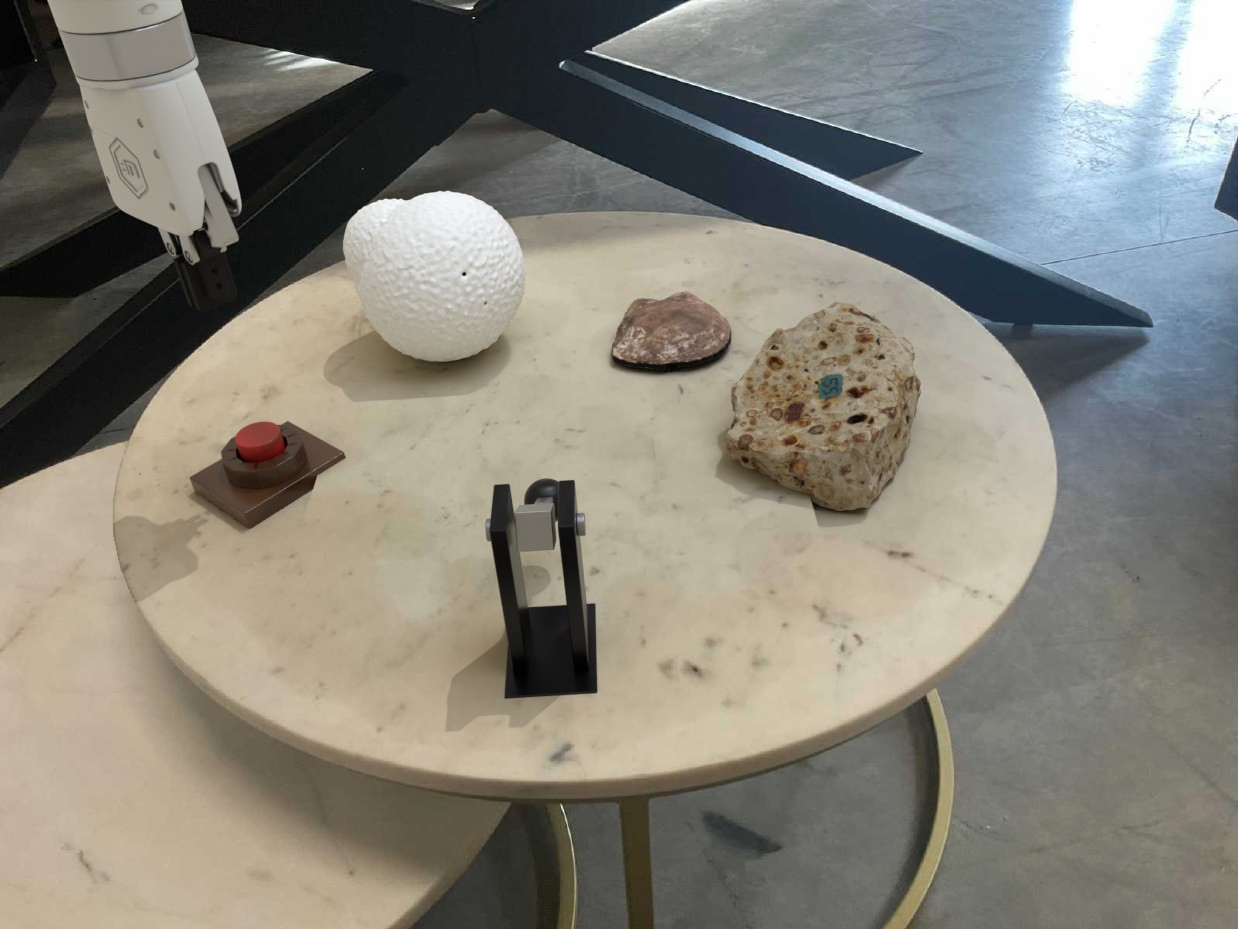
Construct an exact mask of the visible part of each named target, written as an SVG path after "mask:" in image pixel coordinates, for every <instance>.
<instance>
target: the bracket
mask: <svg viewBox="0 0 1238 929" xmlns="http://www.w3.org/2000/svg"><path fill="white" fill-rule="evenodd" d="M558 482H559V488H558V521H557V533H558V534H557V535H558V542H559V550H560V559H561V560H560V561H561V568H562V569H561V570H562V577H563V578H562V579H563V586H564V594H565V602H566V604H558V605H542V606H528V599H527V591H526V586H525V584H526V583H525V578H524V572H523V565H522V559H521V552H517V541H516V527H515V514H514V513H515V511H514V504H513V496H512V489H511V485H510V483H500V484H499V483H497V484H493V490H492V499H491V510H490V518H485V524H484V526H485V527H484V528H485V530H484V532H485V538H486V541H487V542H490V544H491V550H492V556H493V562H494V568H495V574H496V580H497V585H498V592H499V597H500V598H499V599H500V603H501V610H502V615H503V622H504V627H505V633H506V639H507V653H506V668H505V683H504V699H507V700H508V699H522V698H523V699H524V698H525V699H526V698H539V697H541V698H542V697H555V696H556V697H557V696H558V697H559V696H575V695H590V694H591V695H592V694H597V693H598V658H597V655H598V654H597V613H596V612H597V609H596V607H597V606H596V603H595V602H593V603H592V602H590V603H587V593H586V581H585V573H584V572H585V571H584V561H583V551H582V542H581V541H582V540H581V537H586V535H587V527H586V526H587V525H586V514H585V512H579V510H578V500H577V489H576V480H574V479H565V480H563V479H562V480H559V481H558Z"/></svg>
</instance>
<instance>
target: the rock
mask: <svg viewBox="0 0 1238 929" xmlns="http://www.w3.org/2000/svg"><path fill="white" fill-rule="evenodd" d="M915 354H916V353H915V351H914V346H913V344H912V342H910V341H909V340H908V339H907V338H906V337H904V336H901V335H899V333H898V332H897V331H896V330H894V329H892V328H891V327H890V326H889V325H888V324H887V323H885V322H884V321H881V320H880V319H878V318H874V317H872V316H871V315H869V314H868V313H866V312H863V311H861V310H860V309H859V308H857V307H856V306H855V305H854V304H853V303H852V302H845V301H839V300H836V301H835V302H833V303H831V304H830V305H828V306H826V308H822V309H821V310H819V311H817V312H816V311H815V312H813V313H809V314H808V315H806V316H804V318H801V320H800V321H799V322H798V324H797V325H796V326H794V327H790V328H788V329H783V328H779V327H777V328H776V329H775V330H774V331H773V333H771V335H770V336H769V337H768V338H767V339H766V340H765V341H764V342H763V344H762V346H761V350H760V352H759V353H757V355H756V356H755V358H754V359H753V361H752V363H751V365H750V366H749V368H748V369H747V370H746V371H745V372H744V373H743V374H742V376H741V377H740V379H739V380H738V381H736V382H735V383H734V384H733V385H732V386H731V388H730V389H731V390H730V392H731V394H730V395H731V396H730V402H731V405H732V412H734V416H733V419H732V422H731V424H730V426H729V429H728V430H727V432H726V434H725V436H724V438H723V439H724V442H725V448H726V450H727V452H728V455H729V457H730V459H731V460H733V461H735V463H738V464H739V465H740V466H742V467H743V468H745V469H748V470H755V471H758V472H759V473H760V474H763V475H766V476H768V477H770V479H771V480H775V481H777V482H778V484H779V485H780V486H782V487H784V488H787V489H789V490H793V491H796V492H801V493H803V494H807V495H808V496H809V498H810V502H813V503H814V504H816V505H817V506H819V507H822V508H827V509H831V510H834V511H838V512H842V511H846V510H847V511H853V510H859V509H870V508H871V507H872V502H874V500H875V499H876V498H877V497H878V496H880V495H881V493H882V492H883V489H884V488H885V485H886V484H887V483H888V482H889V480H891V479H892V478H894V477H895V476H896V474H897V470H898V465H899V462H900V461H901V460H902V458H903V457H904V456H905V455H906V454H907V452H908V450H909V447H910V445H911V434H912V433H911V430H912V425H913V422H914V420H915V418H916V417H917V416H916V415H917V412H918V408H917V405H918V402H919V399H920V397H921V395H922V389H921V386H922V382H921V380H920V378H919V377H918V375H917V374H916V371H915V369H914V362H915V357H916V356H915Z"/></svg>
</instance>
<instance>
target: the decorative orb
mask: <svg viewBox="0 0 1238 929" xmlns="http://www.w3.org/2000/svg"><path fill="white" fill-rule="evenodd" d="M362 170H364V168H362ZM355 182H356V181H355ZM344 230H345V231H344V235H343V240H342V245H343V246H342V251H343V256H344V258H345V260H344V263H345V265H346V268H347V270H348V272H349V273H350V275H351V278H352V279H353V281H354V283H353V287H354V289H355V292H356V294H357V296H358V298H359V301H360V304H361V307H362V309H363V312H364V314H365V315H366V317H367V320H368V322H370V324H371V325H372V327H373V328H374V330H375V331H376V332H377V334H378V335H380V336H381V338H382V340H383V341H385V342H387V344H388V345H389V346H390V347H391V348H393V349H395V350H396V351H398V352H400V353H401V354H402V355H407V356H409V357H412V358H414V359H416V360H419V359H420V360H423V361H425V362H438V363H442V362H453V361H458V360H461V359H466V358H470V357H471V356H476V355H477V354H479V353H480V352H481V351H482V350H487V349H489V347H491V346H492V344H494V343H496V342H497V341H498V339H499V337H500V336H501V335H502V334H503V333H504V332H505V331H506V330H507V328H508V327H509V325H510V324H511V323H512V321H513V320H514V319H515V316H516V314H517V312H518V310H519V307H521V303H522V300H523V297H524V294H525V288H526V274H527V271H526V263H525V260H524V254H523V250H522V247H521V245H520V242H519V241H518V236H517V235H516V234H515V231H514V229H513V228H512V227H511V225H510V224H509V222H508V221H507V220H506V219H505V218H504V217H503V216H502V215H501V214H500V213H499V211H498V210H496V209H494V207H493V206H492V205H489V204H487V203H486V202H485V201H483V200H480V199H478V198H476V197H474V195H469V194H467V193H461V192H457V191H456V192H453V191H450V190H445V191H441V190H438V191H434V192H428V193H427V192H426V193H422V194H419V195H417V196H414V197H413V198H411V199H408V200H406V199H405V200H404V199H403V198H399V199H397V198H390V199H388V198H384V199H378V200H377V201H374V202H371V203H369V204H368V205H364V206H362V208H360V209H358V210H357V212H356V213H355V214H353V216H351V218H350V219H349V220H348V222H347V223H346V227H345V229H344ZM310 255H311V252H310Z"/></svg>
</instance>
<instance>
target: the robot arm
mask: <svg viewBox="0 0 1238 929" xmlns="http://www.w3.org/2000/svg"><path fill="white" fill-rule="evenodd" d="M47 3H48V6H49V8H50V11H51V14H52V18H53V19H54V22H55V26H56V27H57V28H58V29H57V30H58V33H59V37H60V38H61V41H62V45H63V46H64V50H65V52H66V55H67V58H68V61H69V64H70V66H71V69H72V71H73V74H74V77H75V80H76V82H77V84H78V85H79V89H80V94H81V99H82V103H83V108H84V112H85V115H86V119H87V123H88V126H89V130H90V133H91V137H92V140H93V144H94V147H95V150H96V154H97V156H98V161H99V163H100V166H101V169H102V172H103V175H104V178H105V181H106V184H107V187H108V190H109V193H110V196H111V198H112V201H113V202H114V204H115V205H116V206H117V208H118V209H119V210H120V211H122V212H124V213H126V214H128V215H130V216H132V217H134V218H136V219H137V220H140V221H143V222H145V223H147V224H149V225H152V226H154V227H156V228H157V229H158V232H159V233H160V236H161V239H162V241H163V244H164V246H165V249H166V250H167V252H168V254H169V255H170V256H171V257H173V259H172V261H173V263H174V266H175V270H176V273H177V276H178V277H179V281H180V284H181V287H182V290H183V292H184V296H185V298H186V301H187V304H188V306H190V307H192V308H193V309H196V310H198V311H200V312H201V313H207V312H210V311H212V310H215V309H216V308H218V307H219V306H223V305H225V304H226V303H228V302H231V301H233V300H235V299H236V298H237V296H238V290H237V286H236V284H235V280H234V277H233V274H232V271H231V268H230V264H229V260H228V258H227V257H228V256H227V254H226V251H227V250H228V249H227V248H228V247H227V246H230V245H232V244H235V243H237V242H239V240H240V237H239V234H238V231H237V230H236V226H235V225H234V222H233V220H232V218H236V217H238V216H239V215H240V214H241V212H242V209H243V208H242V206H243V204H242V199H241V192H240V189H239V185H238V181H237V177H236V173H235V170H234V167H233V163H232V161H231V157H230V154H229V152H228V149H227V145H226V143H225V140H224V137H223V133H222V130H221V128H220V125H219V122H218V120H217V117H216V114H215V112H214V109H213V107H212V104H211V102H210V99H209V97H208V94H207V93H206V89H205V87H204V85H203V82H202V81H201V78H200V76H199V74H198V71H197V70H196V69H197V68H198V66H199V58H198V55H197V50H196V48H195V45H194V42H193V38H192V34H191V31H190V28H189V23H188V21H187V17H186V14H185V10H184V7H183V4H182V3H183V2H182V0H47Z"/></svg>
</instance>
